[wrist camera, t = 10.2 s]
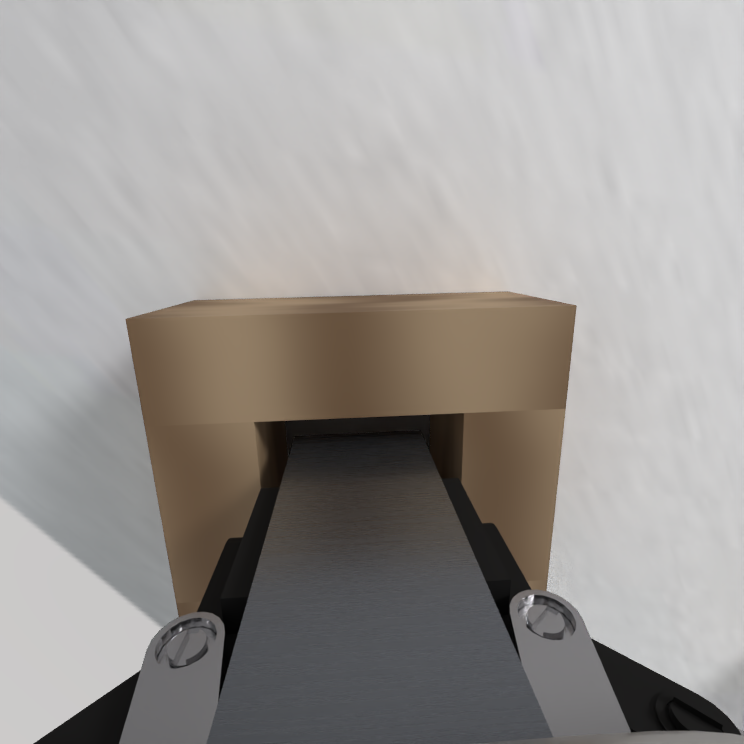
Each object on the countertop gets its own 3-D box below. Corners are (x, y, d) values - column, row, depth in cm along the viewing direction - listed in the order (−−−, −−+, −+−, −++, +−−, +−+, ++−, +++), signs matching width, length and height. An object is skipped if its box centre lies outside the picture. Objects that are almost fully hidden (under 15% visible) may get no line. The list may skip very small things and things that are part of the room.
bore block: (508, 291, 16) (576, 305, 11) (492, 553, 19) (540, 651, 15) (194, 300, 16) (125, 318, 11) (230, 569, 19) (189, 676, 14)
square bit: (420, 430, 13) (612, 872, 4) (419, 537, 14) (567, 1098, 5) (294, 436, 13) (156, 920, 4) (302, 544, 14) (212, 1146, 5)
